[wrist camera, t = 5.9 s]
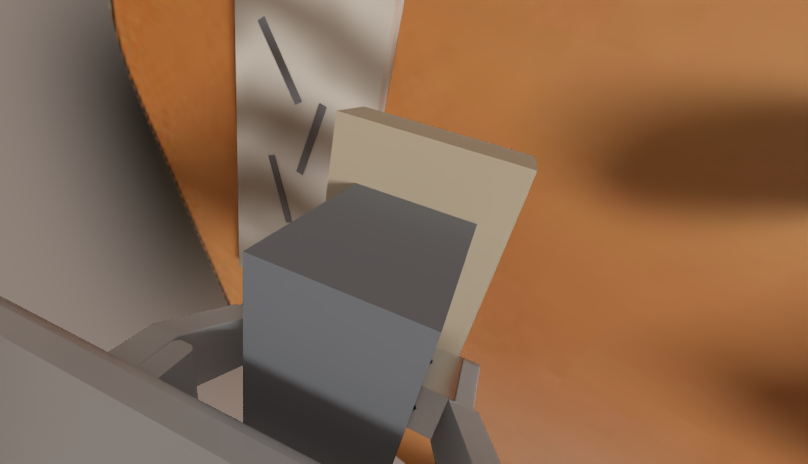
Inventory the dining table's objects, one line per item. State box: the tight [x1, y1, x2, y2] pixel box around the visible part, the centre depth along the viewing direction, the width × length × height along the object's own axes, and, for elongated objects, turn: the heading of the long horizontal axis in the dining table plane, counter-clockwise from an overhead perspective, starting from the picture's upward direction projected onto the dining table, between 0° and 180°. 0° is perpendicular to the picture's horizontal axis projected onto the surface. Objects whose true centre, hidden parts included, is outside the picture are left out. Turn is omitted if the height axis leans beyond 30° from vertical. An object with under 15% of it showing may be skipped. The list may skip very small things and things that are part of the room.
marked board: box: [235, 0, 404, 267], centre depth 27 cm, size 30×12×2 cm, turn 167°
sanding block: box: [243, 106, 537, 464], centre depth 11 cm, size 12×6×7 cm, turn 167°
